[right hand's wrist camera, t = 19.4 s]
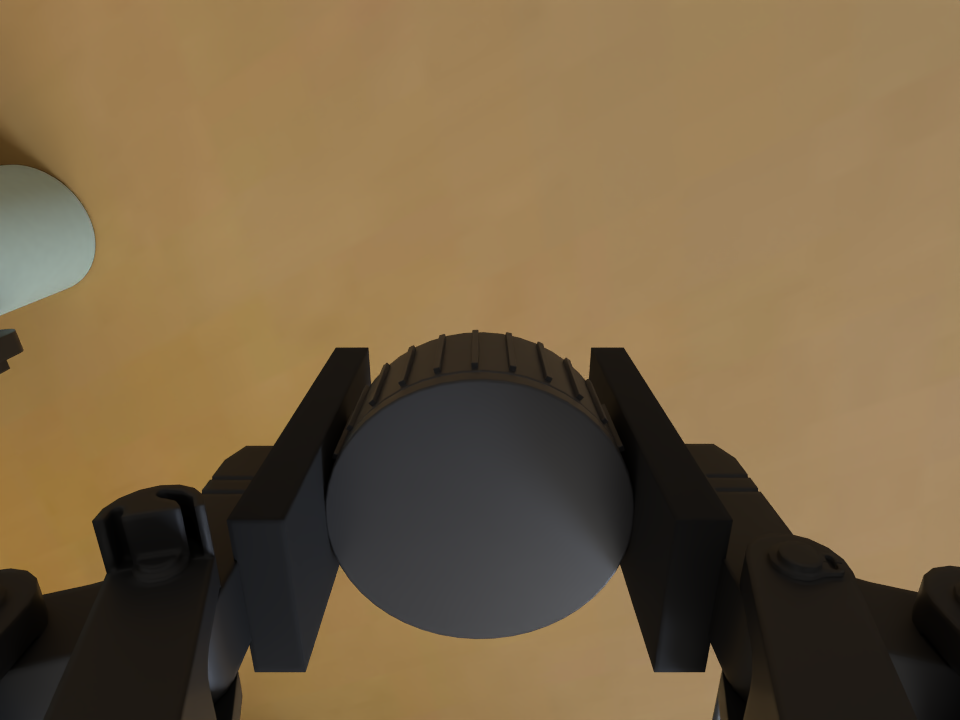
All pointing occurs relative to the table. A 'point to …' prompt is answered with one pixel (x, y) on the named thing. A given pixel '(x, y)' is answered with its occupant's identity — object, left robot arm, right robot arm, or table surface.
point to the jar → (40, 237)
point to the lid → (479, 488)
